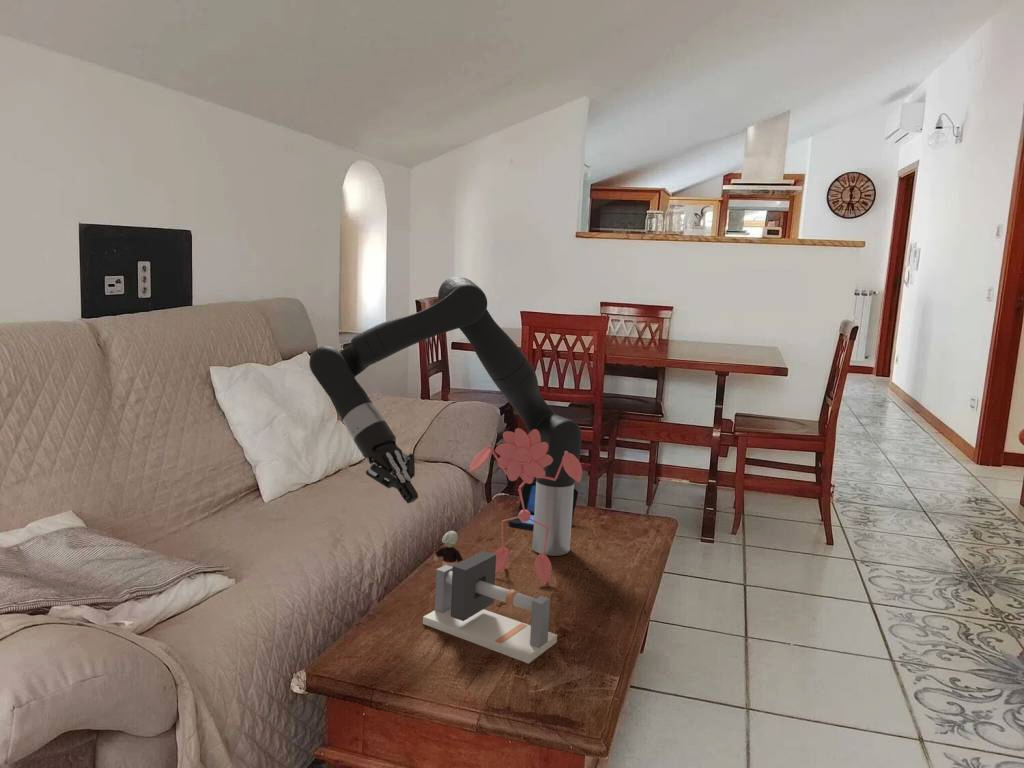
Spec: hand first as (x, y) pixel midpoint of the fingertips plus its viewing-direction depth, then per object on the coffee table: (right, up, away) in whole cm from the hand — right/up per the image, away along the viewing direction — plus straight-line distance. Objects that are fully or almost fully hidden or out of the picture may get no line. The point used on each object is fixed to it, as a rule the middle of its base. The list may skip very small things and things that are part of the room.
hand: (413, 500), depth 158 cm
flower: (+20, -21, +17) cm, 34 cm away
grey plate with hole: (+12, -20, -5) cm, 24 cm away
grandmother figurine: (+6, -21, +12) cm, 25 cm away
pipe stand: (+15, -24, -7) cm, 29 cm away
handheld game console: (+28, -15, +57) cm, 65 cm away
